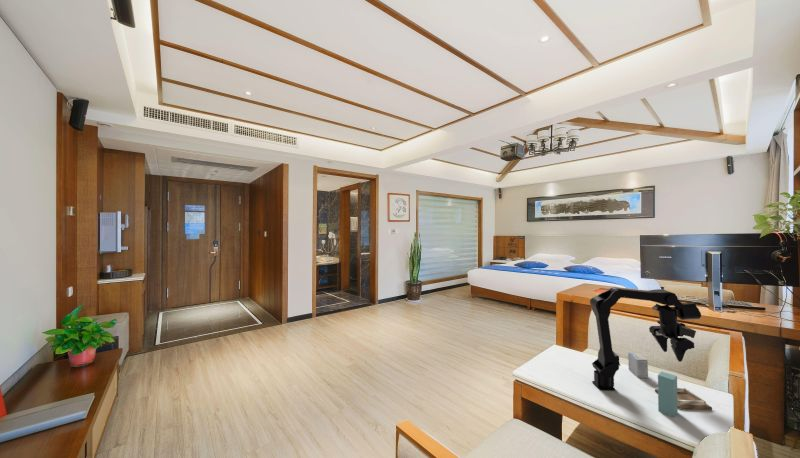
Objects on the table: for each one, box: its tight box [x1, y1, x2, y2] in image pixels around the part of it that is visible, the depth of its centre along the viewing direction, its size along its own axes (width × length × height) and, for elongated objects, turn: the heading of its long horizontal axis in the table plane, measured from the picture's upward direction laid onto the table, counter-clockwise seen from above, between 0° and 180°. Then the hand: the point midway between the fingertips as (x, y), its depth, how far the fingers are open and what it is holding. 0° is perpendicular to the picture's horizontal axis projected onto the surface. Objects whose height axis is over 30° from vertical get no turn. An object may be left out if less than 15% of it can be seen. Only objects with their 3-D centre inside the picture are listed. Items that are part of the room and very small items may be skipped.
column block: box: [657, 371, 679, 418], centre depth 114 cm, size 4×4×14 cm
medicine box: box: [627, 352, 649, 379], centre depth 142 cm, size 8×4×9 cm, turn 168°
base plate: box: [654, 387, 713, 411], centre depth 120 cm, size 12×12×2 cm
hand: (672, 356), depth 126 cm, fingers open, 9 cm apart
